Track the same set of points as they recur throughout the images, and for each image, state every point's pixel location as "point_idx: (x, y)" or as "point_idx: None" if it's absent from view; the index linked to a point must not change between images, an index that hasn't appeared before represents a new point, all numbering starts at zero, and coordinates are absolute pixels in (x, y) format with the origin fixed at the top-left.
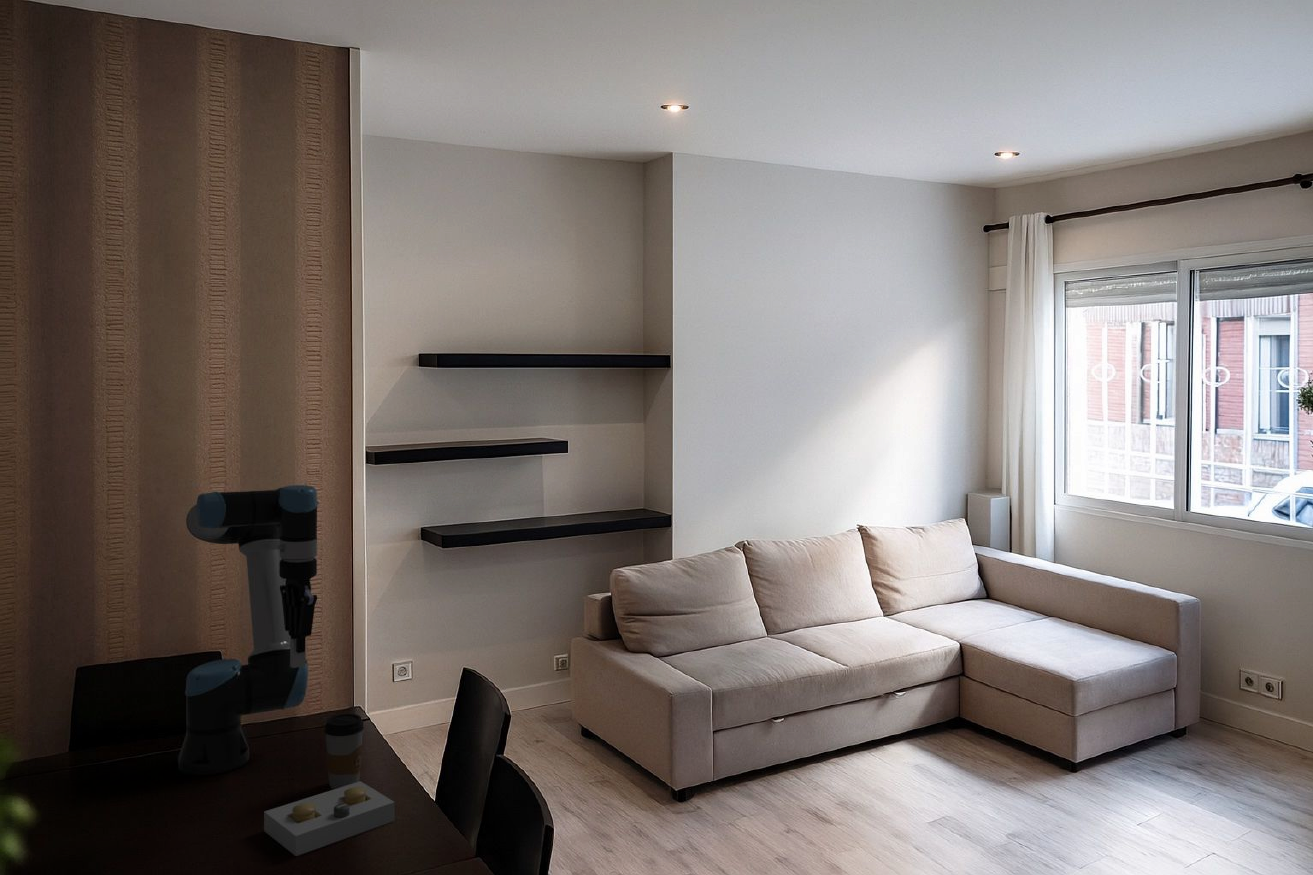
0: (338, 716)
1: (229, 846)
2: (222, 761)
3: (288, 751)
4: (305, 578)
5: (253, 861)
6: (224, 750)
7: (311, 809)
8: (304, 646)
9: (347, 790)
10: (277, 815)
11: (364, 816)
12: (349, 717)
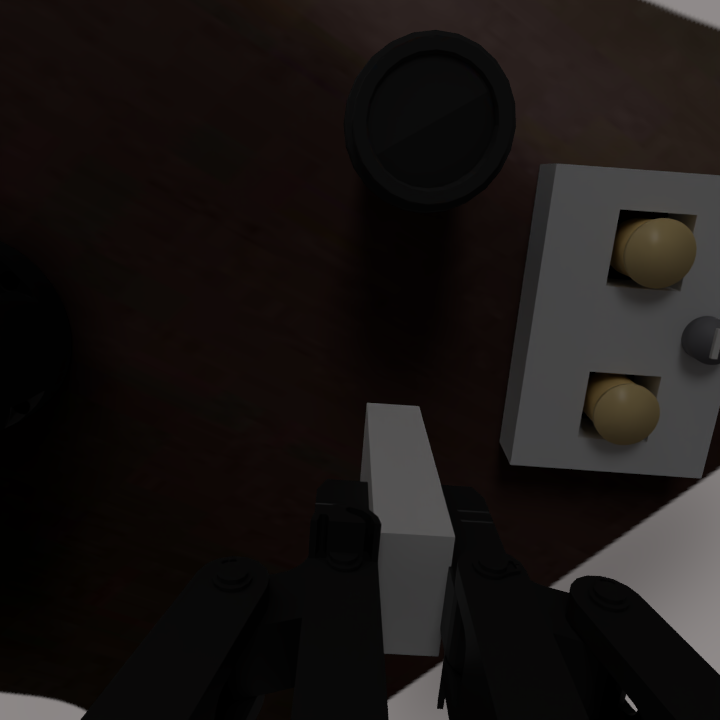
0: (368, 114)
1: (505, 525)
2: (53, 360)
3: (26, 119)
4: None
5: (613, 523)
6: (26, 358)
7: (652, 407)
8: (488, 521)
9: (634, 266)
10: (559, 453)
11: None
12: (414, 79)
